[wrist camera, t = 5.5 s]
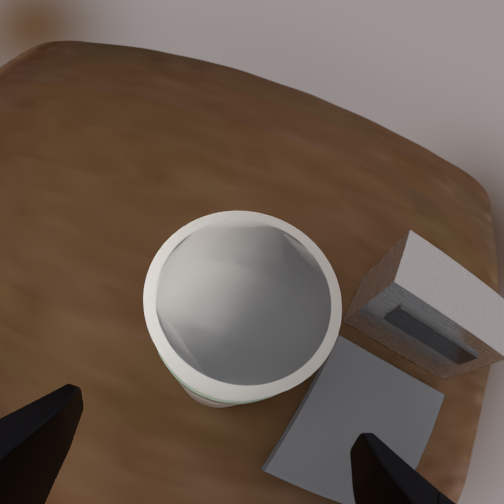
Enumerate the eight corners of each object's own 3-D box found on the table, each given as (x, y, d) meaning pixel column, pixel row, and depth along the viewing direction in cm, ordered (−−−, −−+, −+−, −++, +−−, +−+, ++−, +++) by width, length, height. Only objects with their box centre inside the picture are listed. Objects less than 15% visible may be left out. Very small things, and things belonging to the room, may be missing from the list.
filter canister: (271, 391, 19) (374, 349, 8) (194, 419, 17) (181, 431, 6) (240, 319, 21) (292, 193, 10) (166, 344, 19) (122, 236, 8)
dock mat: (383, 515, 15) (390, 518, 14) (261, 468, 16) (264, 471, 16) (436, 396, 20) (444, 394, 19) (334, 338, 21) (339, 335, 20)
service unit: (441, 381, 21) (506, 361, 14) (341, 323, 22) (392, 284, 16) (454, 334, 23) (513, 304, 17) (362, 276, 24) (410, 227, 18)
